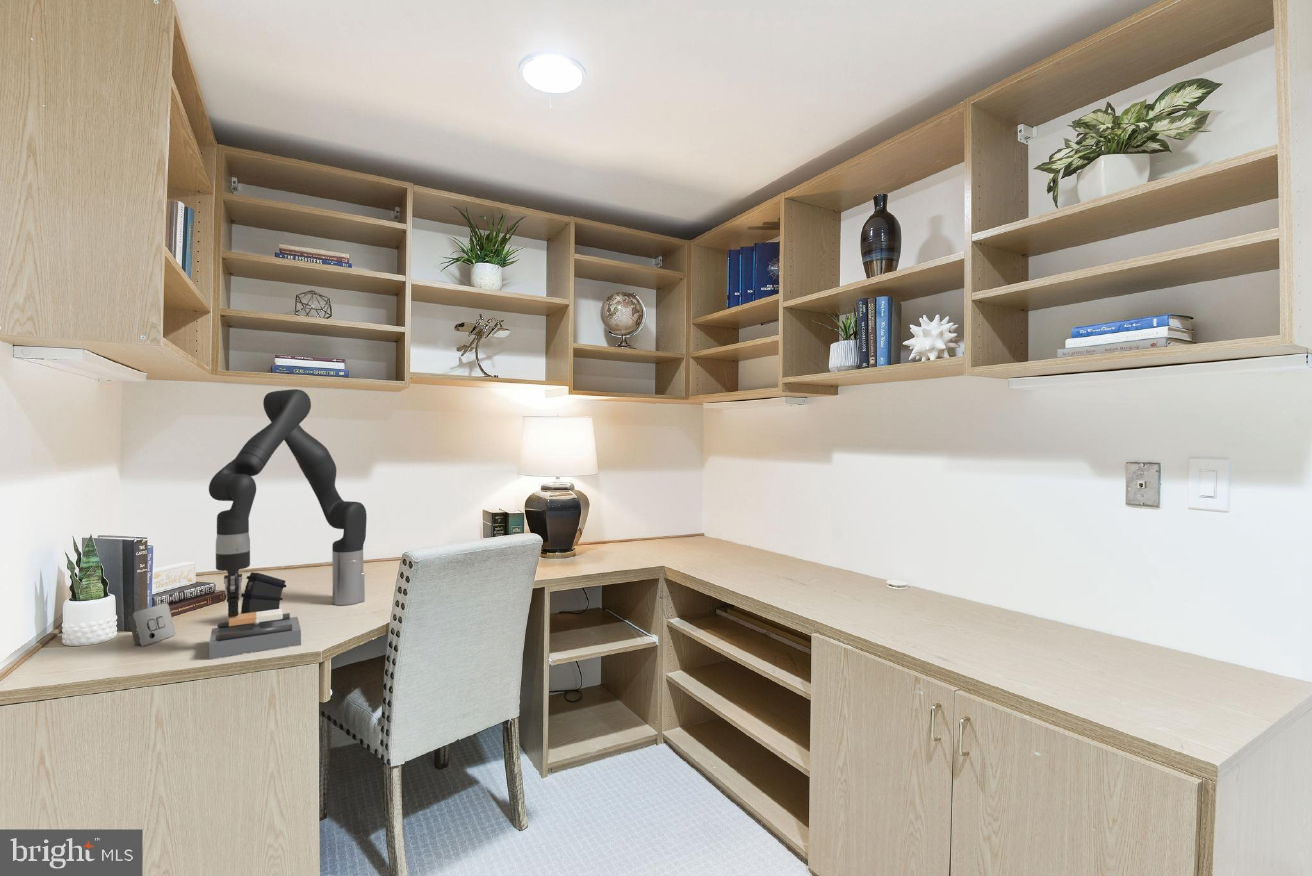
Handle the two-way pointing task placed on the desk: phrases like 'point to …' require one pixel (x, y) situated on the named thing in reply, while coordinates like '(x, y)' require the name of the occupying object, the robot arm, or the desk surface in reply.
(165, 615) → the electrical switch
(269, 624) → the grey low boxy piece
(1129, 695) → the desk surface
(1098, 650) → the desk surface
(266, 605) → the magazine
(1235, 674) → the desk surface
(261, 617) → the breaker rocker
